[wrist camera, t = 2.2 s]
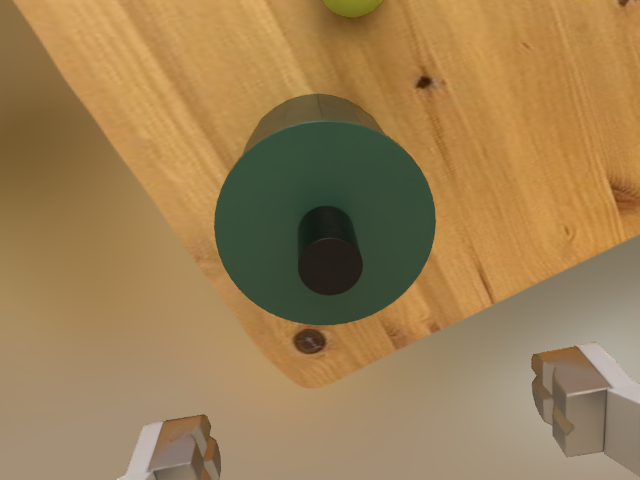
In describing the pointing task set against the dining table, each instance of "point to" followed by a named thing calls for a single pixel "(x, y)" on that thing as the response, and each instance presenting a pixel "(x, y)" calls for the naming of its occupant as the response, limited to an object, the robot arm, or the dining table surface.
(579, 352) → the robot arm
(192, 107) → the dining table surface
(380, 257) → the canister lid
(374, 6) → the ball
